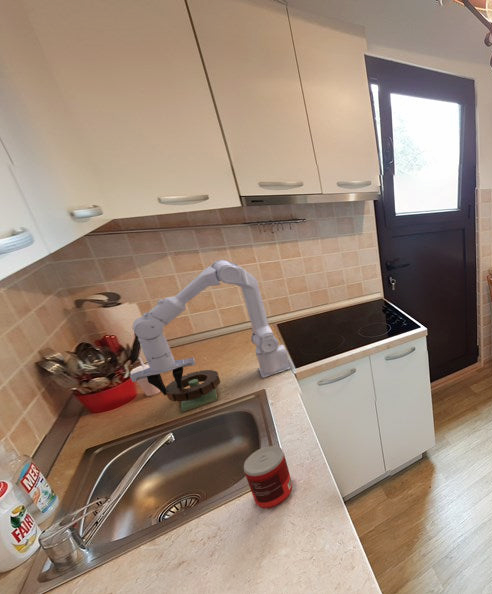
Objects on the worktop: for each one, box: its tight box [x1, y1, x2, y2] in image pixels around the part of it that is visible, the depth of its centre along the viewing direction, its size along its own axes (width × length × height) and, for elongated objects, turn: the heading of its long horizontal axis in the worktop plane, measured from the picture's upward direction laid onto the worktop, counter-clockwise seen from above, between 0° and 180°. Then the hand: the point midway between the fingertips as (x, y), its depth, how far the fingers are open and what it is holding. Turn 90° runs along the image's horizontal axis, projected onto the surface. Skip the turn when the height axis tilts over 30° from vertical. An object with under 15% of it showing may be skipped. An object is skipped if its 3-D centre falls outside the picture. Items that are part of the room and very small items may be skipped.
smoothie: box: [129, 356, 161, 397], centre depth 111 cm, size 6×6×14 cm
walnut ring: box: [165, 369, 221, 403], centre depth 108 cm, size 13×13×3 cm
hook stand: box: [180, 379, 218, 413], centre depth 108 cm, size 9×9×7 cm
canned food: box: [243, 445, 293, 510], centre depth 75 cm, size 8×8×11 cm
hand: (173, 391), depth 104 cm, fingers closed on walnut ring, 3 cm apart
